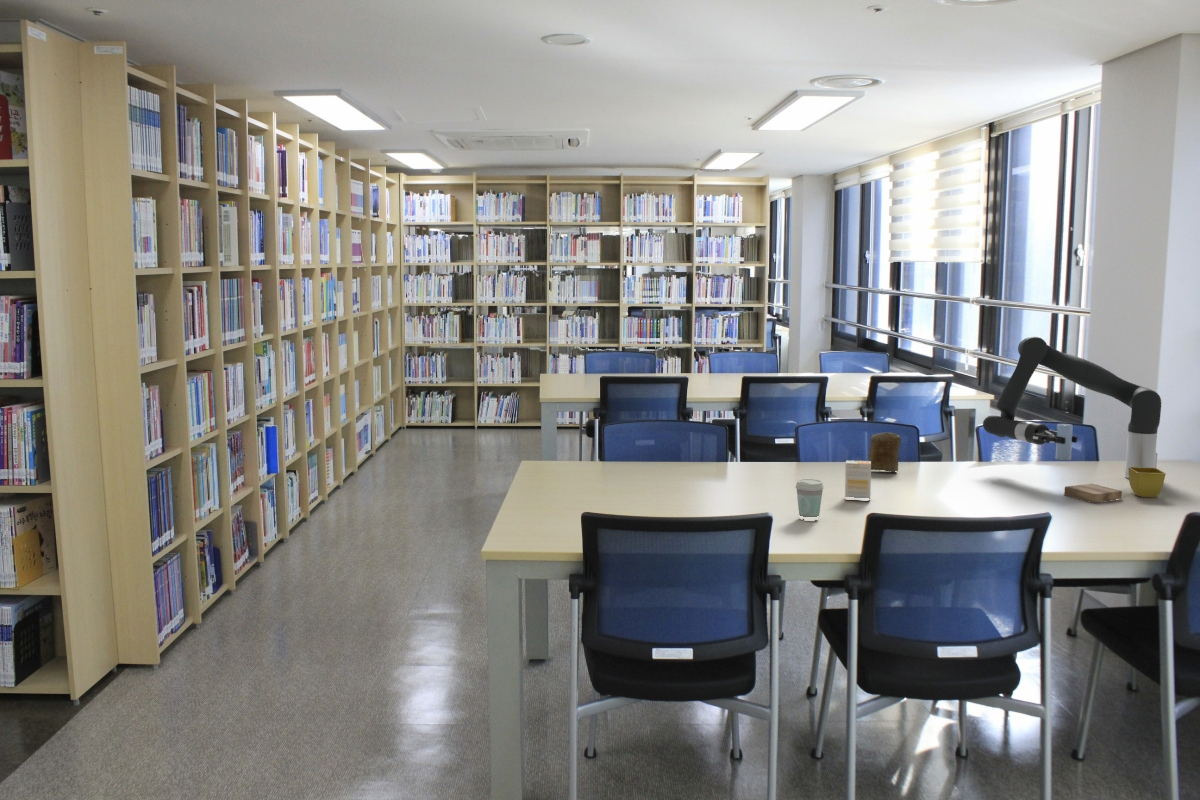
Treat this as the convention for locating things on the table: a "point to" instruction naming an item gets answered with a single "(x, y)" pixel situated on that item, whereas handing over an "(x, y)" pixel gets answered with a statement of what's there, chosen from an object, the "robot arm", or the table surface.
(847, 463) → the supplement box
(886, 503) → the table surface
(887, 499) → the table surface
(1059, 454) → the pale blue tumbler
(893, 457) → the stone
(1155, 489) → the flower pot
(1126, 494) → the table surface
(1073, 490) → the stand
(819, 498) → the coffee cup
